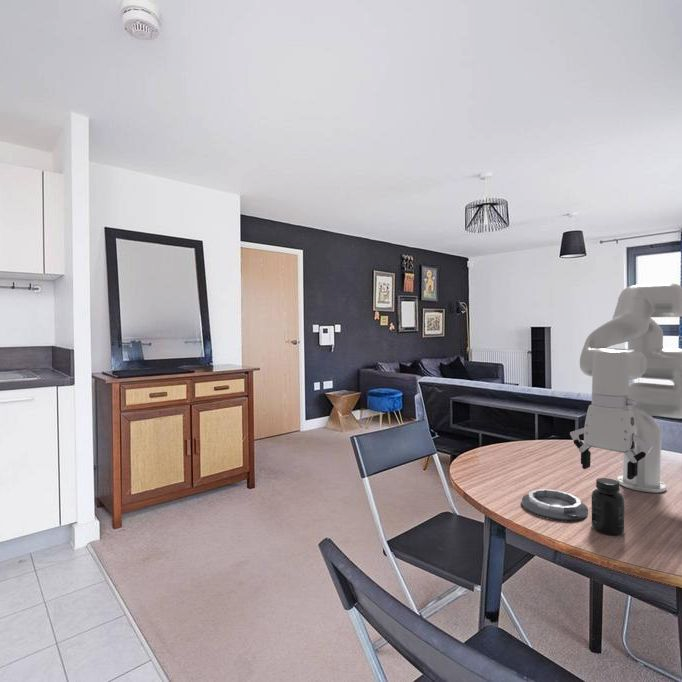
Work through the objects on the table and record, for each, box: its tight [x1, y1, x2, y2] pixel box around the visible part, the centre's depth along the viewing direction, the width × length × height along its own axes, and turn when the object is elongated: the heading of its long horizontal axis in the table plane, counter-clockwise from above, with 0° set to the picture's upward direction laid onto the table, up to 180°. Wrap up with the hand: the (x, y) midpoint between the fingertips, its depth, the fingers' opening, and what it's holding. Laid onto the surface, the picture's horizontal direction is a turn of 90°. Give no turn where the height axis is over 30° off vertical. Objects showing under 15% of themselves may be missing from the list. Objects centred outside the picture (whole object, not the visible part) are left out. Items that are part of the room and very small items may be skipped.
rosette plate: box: [521, 488, 589, 522], centre depth 119 cm, size 16×16×3 cm
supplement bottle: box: [591, 477, 625, 537], centre depth 106 cm, size 7×7×12 cm
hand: (607, 472), depth 105 cm, fingers open, 9 cm apart
